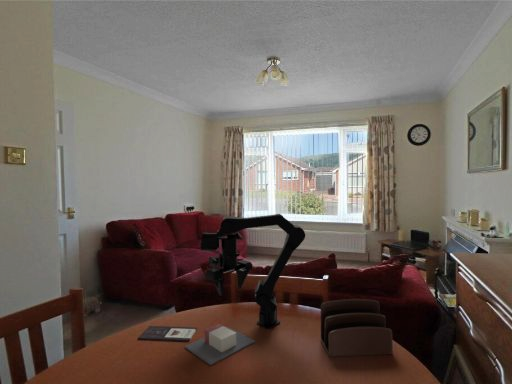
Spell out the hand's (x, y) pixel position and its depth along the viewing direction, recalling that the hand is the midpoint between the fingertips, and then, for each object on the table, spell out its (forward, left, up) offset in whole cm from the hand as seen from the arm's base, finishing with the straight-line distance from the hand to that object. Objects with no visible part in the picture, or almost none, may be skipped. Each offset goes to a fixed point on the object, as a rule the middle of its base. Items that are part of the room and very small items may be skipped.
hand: (230, 292), depth 115 cm
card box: (+12, +9, -12) cm, 19 cm away
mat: (+12, +9, -12) cm, 19 cm away
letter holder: (-17, +41, -12) cm, 46 cm away
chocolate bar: (+20, -10, -13) cm, 26 cm away
